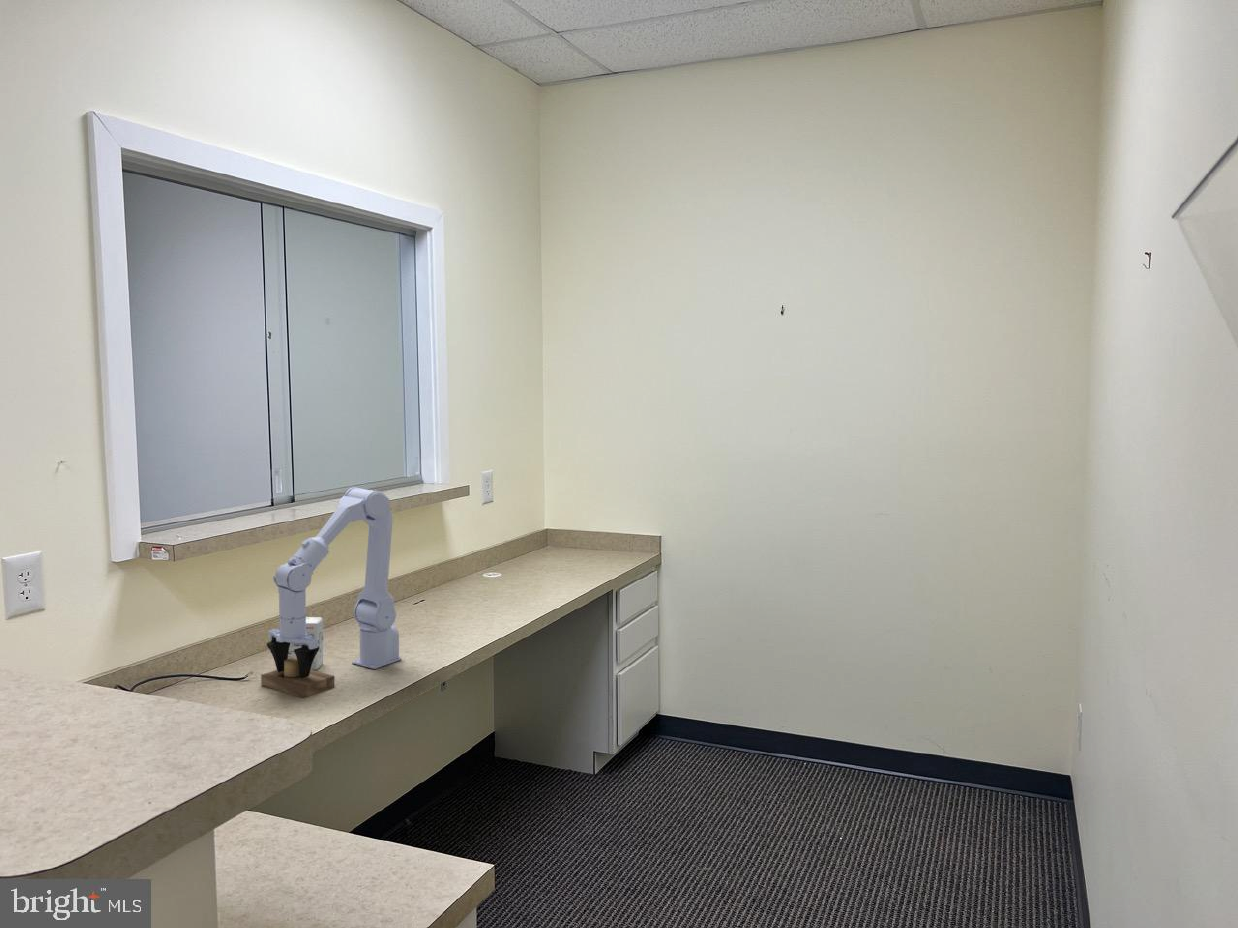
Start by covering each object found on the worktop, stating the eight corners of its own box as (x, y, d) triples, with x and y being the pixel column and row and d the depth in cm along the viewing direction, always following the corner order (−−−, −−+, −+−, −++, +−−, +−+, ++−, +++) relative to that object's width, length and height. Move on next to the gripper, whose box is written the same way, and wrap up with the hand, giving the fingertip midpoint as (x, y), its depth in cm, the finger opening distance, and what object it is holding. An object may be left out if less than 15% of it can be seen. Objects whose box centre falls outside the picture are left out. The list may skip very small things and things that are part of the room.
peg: (295, 681, 215) (295, 656, 214) (306, 685, 213) (306, 660, 212) (280, 686, 211) (280, 660, 211) (291, 690, 209) (291, 664, 209)
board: (293, 674, 219) (293, 664, 219) (334, 686, 212) (334, 675, 212) (261, 685, 212) (261, 674, 211) (303, 697, 205) (303, 686, 204)
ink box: (281, 669, 223) (281, 621, 222) (288, 662, 228) (288, 616, 227) (317, 670, 223) (317, 622, 222) (323, 663, 228) (323, 617, 227)
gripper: (256, 614, 211) (257, 672, 212) (300, 625, 203) (300, 684, 205) (282, 608, 217) (282, 664, 218) (325, 618, 209) (325, 676, 211)
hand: (293, 673), depth 212 cm, fingers open, 7 cm apart
